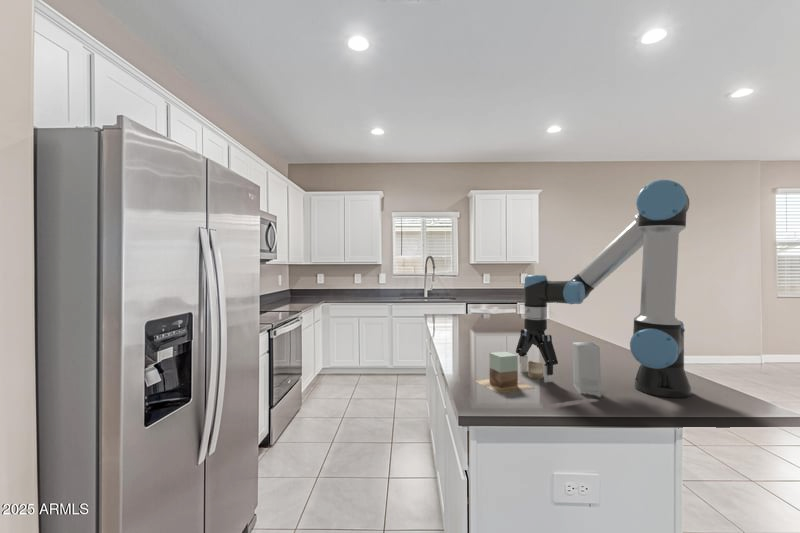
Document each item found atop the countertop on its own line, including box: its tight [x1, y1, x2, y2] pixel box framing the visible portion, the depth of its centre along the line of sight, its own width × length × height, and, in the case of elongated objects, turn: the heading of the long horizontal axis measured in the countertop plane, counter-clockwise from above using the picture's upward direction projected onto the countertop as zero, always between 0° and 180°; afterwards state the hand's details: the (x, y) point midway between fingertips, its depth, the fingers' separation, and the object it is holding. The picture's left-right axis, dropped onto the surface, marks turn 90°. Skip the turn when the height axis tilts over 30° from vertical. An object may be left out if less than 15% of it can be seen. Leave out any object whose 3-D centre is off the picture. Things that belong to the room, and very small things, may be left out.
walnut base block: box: [489, 367, 519, 388], centre depth 130 cm, size 6×6×5 cm
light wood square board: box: [474, 378, 535, 394], centre depth 130 cm, size 14×14×1 cm
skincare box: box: [571, 341, 602, 398], centre depth 124 cm, size 8×7×16 cm
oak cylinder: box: [527, 360, 544, 380], centre depth 139 cm, size 5×5×6 cm
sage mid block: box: [489, 351, 519, 373], centre depth 130 cm, size 6×6×5 cm
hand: (535, 378), depth 140 cm, fingers open, 12 cm apart
